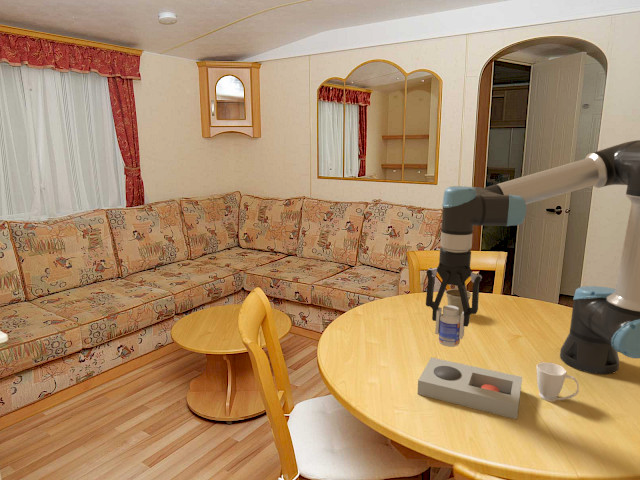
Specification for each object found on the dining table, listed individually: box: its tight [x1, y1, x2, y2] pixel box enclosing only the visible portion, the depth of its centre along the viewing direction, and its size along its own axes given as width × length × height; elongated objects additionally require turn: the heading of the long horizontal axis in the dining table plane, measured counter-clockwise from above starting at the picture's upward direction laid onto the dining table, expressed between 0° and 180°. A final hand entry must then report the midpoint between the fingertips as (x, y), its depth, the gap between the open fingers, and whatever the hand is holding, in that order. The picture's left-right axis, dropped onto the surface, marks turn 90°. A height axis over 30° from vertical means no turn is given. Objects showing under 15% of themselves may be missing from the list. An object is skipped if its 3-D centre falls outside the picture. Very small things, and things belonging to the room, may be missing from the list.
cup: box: [535, 361, 579, 402], centre depth 115 cm, size 7×10×8 cm
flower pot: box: [444, 288, 472, 317], centre depth 169 cm, size 9×9×9 cm
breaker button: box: [481, 384, 499, 392], centre depth 116 cm, size 4×4×2 cm
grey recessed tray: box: [417, 356, 523, 420], centre depth 118 cm, size 24×14×4 cm, turn 63°
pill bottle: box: [438, 304, 461, 348], centre depth 117 cm, size 5×5×10 cm
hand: (449, 334), depth 118 cm, fingers closed on pill bottle, 5 cm apart
